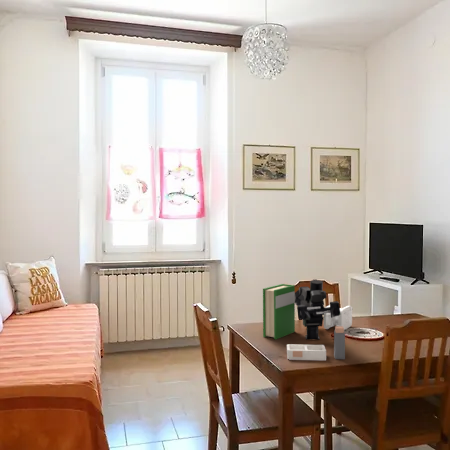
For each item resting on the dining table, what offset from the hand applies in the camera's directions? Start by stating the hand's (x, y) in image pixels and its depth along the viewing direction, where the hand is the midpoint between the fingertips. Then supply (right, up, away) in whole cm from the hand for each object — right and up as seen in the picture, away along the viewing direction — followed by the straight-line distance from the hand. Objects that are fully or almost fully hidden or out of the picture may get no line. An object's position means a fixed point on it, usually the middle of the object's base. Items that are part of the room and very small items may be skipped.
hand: (320, 317), depth 204 cm
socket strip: (-7, -16, -3) cm, 18 cm away
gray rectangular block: (+7, -16, -4) cm, 18 cm away
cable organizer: (+18, -14, +44) cm, 50 cm away
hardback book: (-14, -15, +33) cm, 39 cm away
